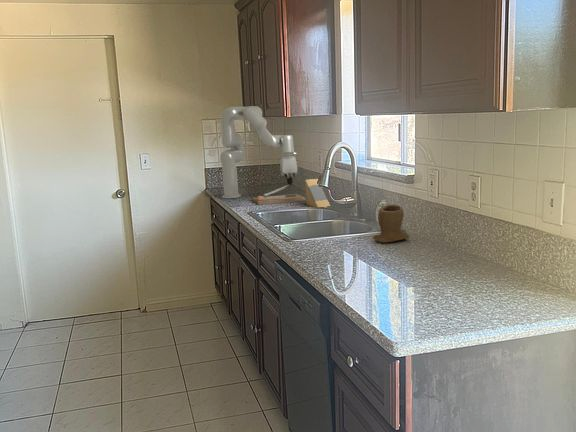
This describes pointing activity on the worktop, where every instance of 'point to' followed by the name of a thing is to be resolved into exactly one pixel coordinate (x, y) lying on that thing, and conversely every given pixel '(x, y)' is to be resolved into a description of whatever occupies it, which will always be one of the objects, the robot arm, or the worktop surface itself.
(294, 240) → the worktop surface
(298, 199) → the walnut cutting board
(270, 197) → the tongs lower arm
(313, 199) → the sandwich container
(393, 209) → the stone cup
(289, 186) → the upper tong arm
